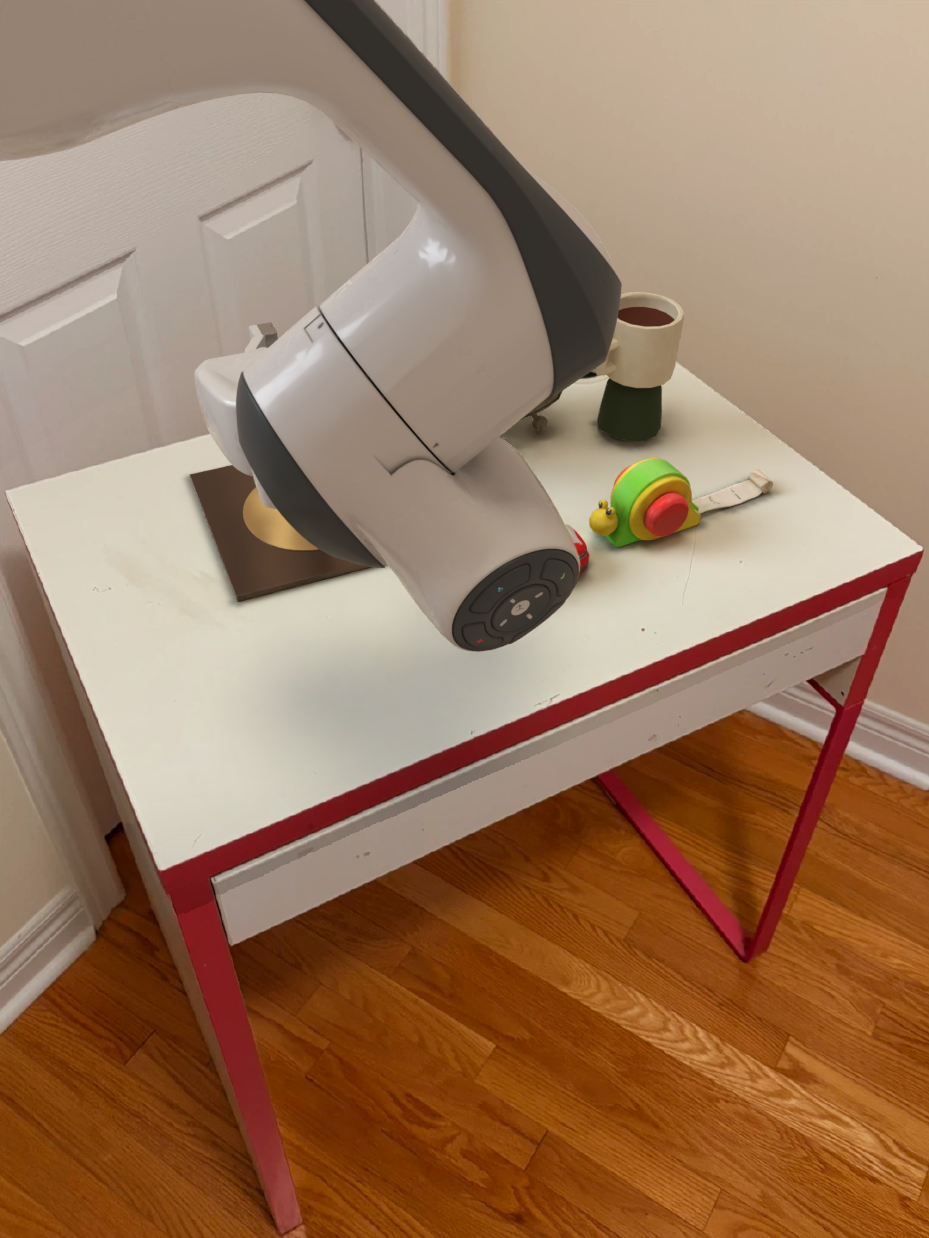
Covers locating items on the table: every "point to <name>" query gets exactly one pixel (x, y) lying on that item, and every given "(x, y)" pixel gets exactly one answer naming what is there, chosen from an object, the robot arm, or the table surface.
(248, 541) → the brown flat square panel
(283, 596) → the table surface
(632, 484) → the toy measuring tape
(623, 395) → the cream coffee mug
